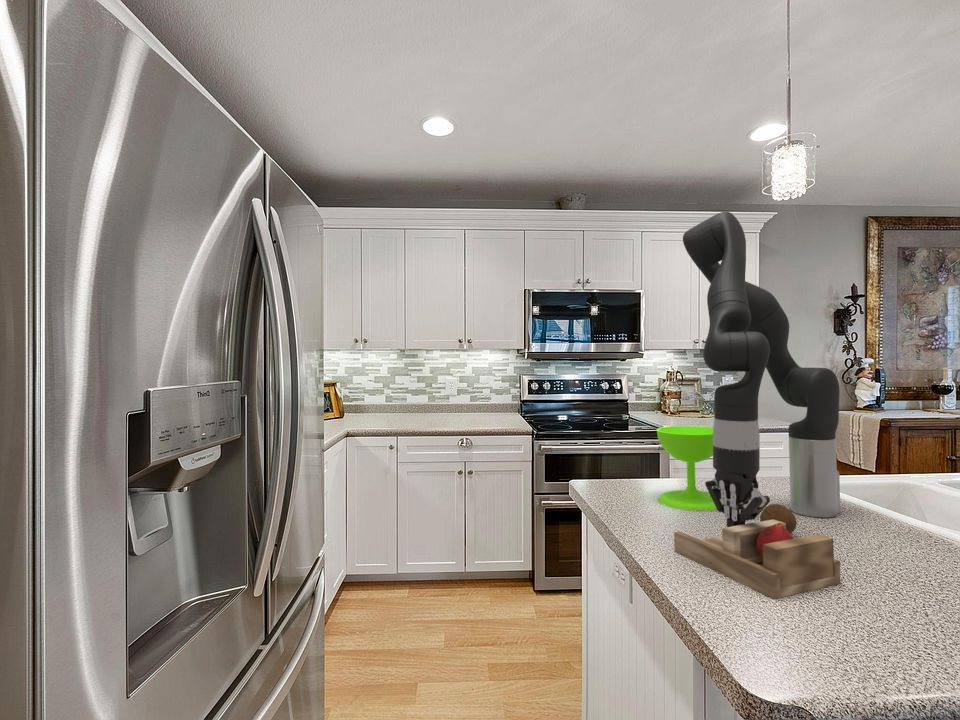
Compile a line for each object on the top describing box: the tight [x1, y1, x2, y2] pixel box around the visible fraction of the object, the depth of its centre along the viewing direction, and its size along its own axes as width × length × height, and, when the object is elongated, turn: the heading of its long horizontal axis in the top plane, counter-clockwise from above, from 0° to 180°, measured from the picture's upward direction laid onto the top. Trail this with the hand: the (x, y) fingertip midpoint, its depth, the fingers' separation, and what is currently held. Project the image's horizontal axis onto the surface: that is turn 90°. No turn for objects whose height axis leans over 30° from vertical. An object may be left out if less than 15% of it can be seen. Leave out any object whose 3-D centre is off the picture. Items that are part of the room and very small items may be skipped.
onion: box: [756, 522, 794, 558], centre depth 88 cm, size 6×6×8 cm
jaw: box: [721, 519, 786, 563], centre depth 92 cm, size 12×2×6 cm, turn 110°
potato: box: [759, 503, 798, 535], centre depth 109 cm, size 7×10×6 cm
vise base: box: [673, 530, 841, 600], centre depth 93 cm, size 14×22×7 cm, turn 20°
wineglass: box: [656, 425, 723, 511], centre depth 135 cm, size 16×16×18 cm
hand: (735, 539), depth 96 cm, fingers closed
